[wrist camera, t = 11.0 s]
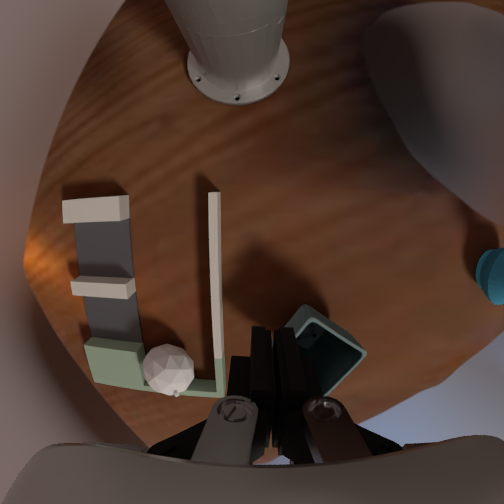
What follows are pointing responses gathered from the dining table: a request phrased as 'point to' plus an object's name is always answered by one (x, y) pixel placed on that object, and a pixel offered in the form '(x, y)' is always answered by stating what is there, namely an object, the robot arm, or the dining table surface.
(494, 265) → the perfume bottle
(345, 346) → the flower pot
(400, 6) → the dining table surface
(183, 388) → the ornament
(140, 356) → the u-shaped rail frame
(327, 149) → the dining table surface
